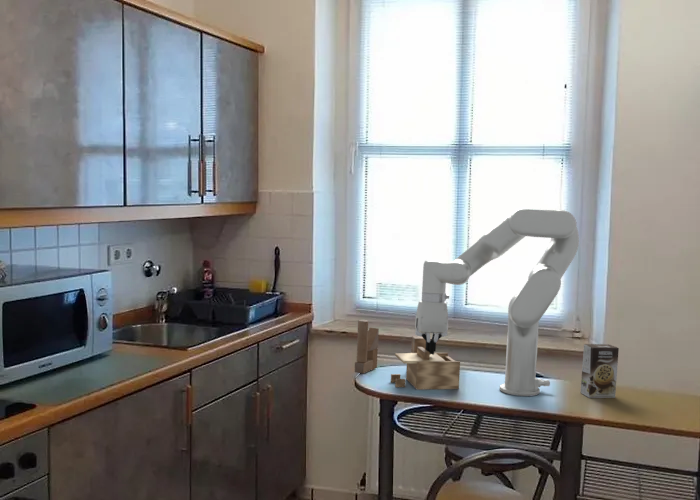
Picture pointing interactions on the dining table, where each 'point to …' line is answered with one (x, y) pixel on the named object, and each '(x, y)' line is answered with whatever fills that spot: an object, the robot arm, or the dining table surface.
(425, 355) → the lid
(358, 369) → the wooden block
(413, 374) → the toolbox
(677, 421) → the dining table surface
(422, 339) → the tall wooden pillar
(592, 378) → the coffee box
